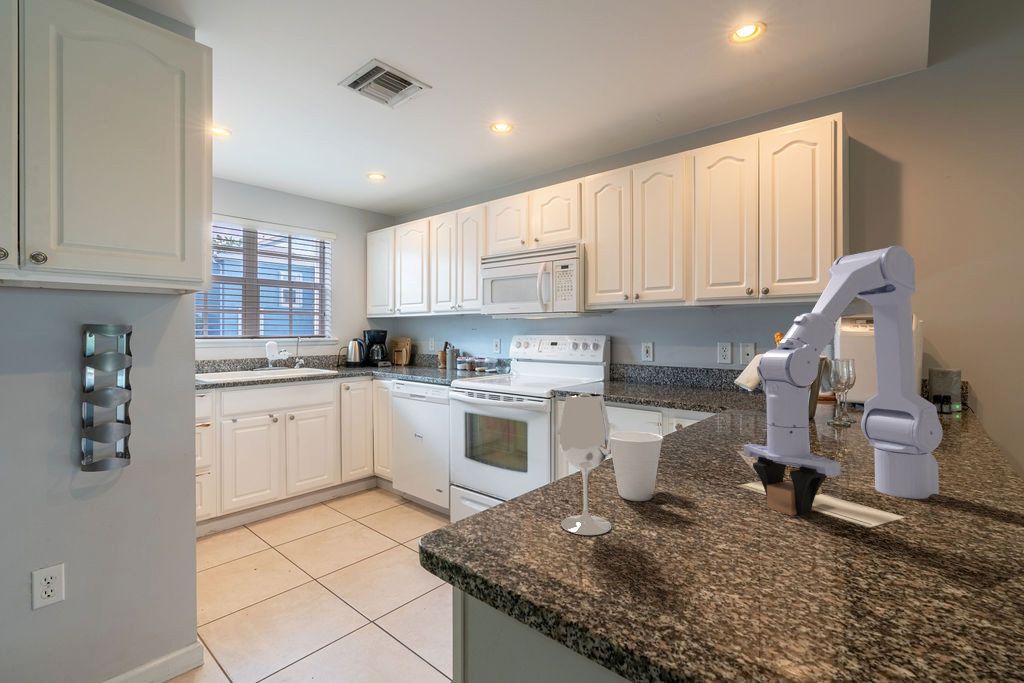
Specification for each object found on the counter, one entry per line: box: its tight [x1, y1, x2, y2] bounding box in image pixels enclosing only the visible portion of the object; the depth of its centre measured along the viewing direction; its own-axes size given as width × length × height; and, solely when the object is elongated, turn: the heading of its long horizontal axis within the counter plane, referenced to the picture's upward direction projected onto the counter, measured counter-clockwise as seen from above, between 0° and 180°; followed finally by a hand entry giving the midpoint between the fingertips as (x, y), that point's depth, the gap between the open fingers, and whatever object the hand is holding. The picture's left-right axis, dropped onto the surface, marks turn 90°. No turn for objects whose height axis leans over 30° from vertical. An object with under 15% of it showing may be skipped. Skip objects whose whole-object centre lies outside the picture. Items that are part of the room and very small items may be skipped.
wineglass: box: [559, 392, 612, 536], centre depth 71 cm, size 8×8×20 cm
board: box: [736, 480, 906, 528], centre depth 77 cm, size 9×22×2 cm, turn 24°
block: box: [766, 480, 823, 516], centre depth 74 cm, size 10×4×5 cm, turn 114°
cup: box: [610, 430, 664, 502], centre depth 85 cm, size 10×10×11 cm
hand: (789, 511), depth 73 cm, fingers closed on block, 4 cm apart
